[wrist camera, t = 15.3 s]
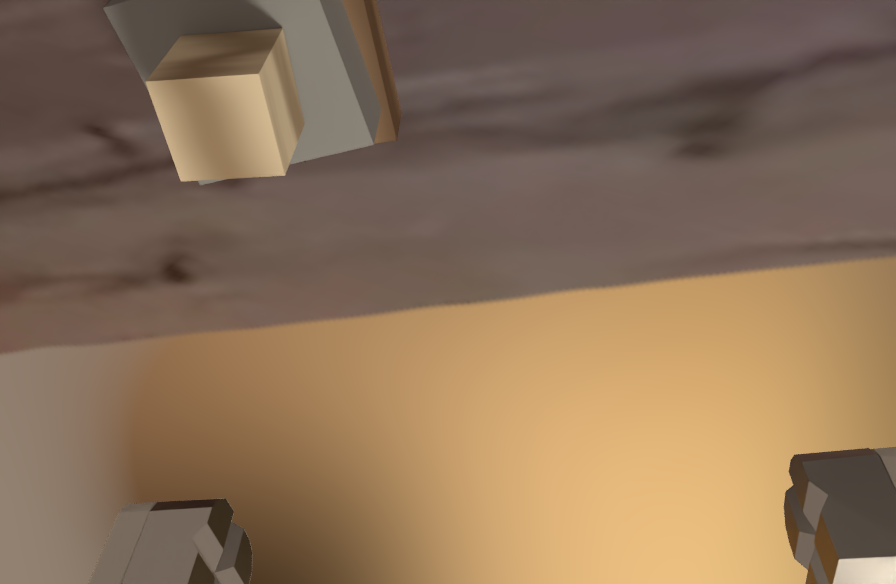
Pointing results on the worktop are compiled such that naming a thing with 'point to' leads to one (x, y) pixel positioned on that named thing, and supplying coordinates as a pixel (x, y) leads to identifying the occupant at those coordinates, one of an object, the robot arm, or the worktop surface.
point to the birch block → (228, 104)
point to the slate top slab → (309, 46)
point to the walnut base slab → (376, 64)
